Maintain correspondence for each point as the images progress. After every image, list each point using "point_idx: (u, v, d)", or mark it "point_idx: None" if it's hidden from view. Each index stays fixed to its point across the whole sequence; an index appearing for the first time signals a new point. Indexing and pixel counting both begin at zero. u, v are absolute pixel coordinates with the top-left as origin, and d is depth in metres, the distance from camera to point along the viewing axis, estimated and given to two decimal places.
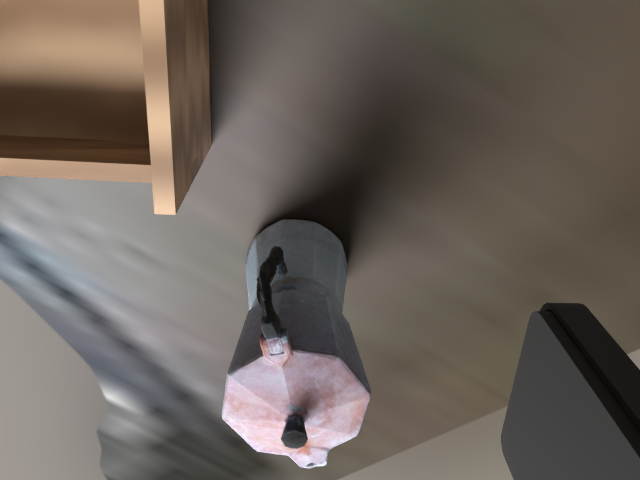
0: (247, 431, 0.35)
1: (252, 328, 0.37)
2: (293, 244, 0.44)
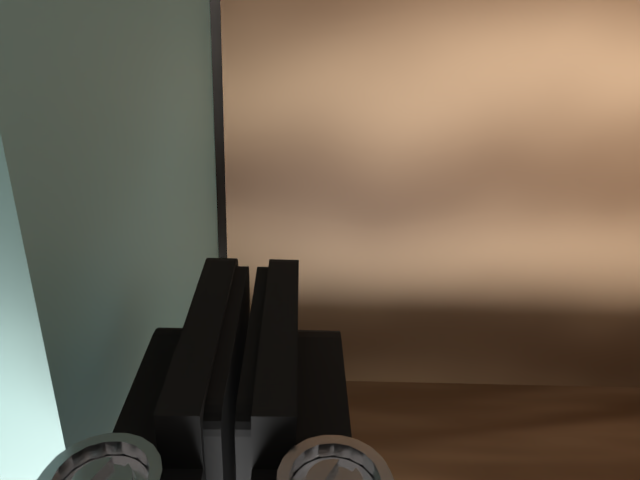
0: None
1: None
2: None
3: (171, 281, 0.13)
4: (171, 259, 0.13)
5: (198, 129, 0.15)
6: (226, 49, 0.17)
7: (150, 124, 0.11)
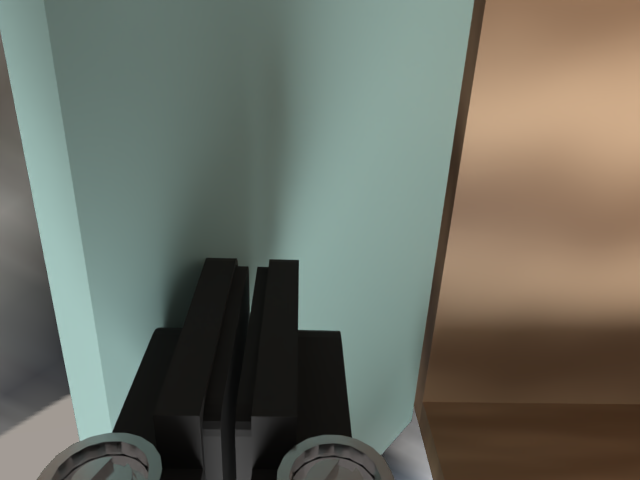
0: None
1: None
2: None
3: (322, 289, 0.13)
4: (328, 268, 0.13)
5: (414, 151, 0.15)
6: (479, 71, 0.16)
7: (312, 135, 0.11)
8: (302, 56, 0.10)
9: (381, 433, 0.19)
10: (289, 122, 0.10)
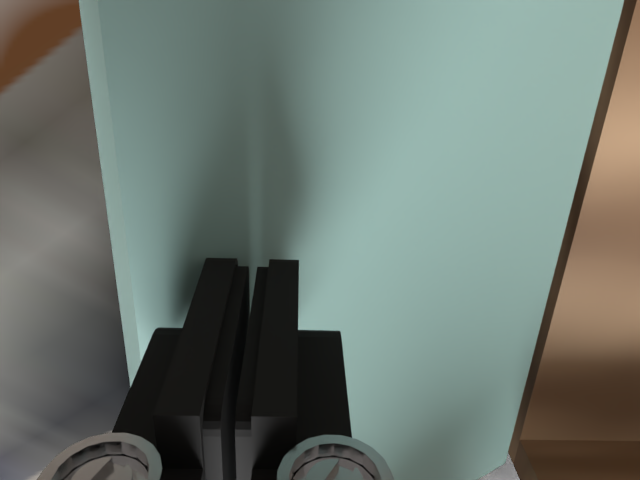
0: None
1: None
2: None
3: (390, 298, 0.13)
4: (399, 278, 0.13)
5: (523, 170, 0.14)
6: (620, 86, 0.15)
7: (386, 139, 0.11)
8: (376, 57, 0.10)
9: (461, 466, 0.18)
10: (357, 123, 0.10)
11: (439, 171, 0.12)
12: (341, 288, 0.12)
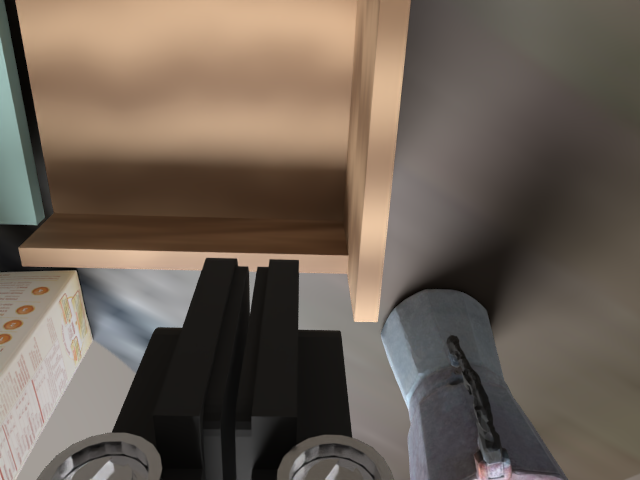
0: None
1: (439, 433, 0.33)
2: (447, 320, 0.41)
3: None
4: None
5: None
6: (18, 5, 0.31)
7: None
8: None
9: None
10: None
11: None
12: None
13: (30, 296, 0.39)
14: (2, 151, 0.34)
